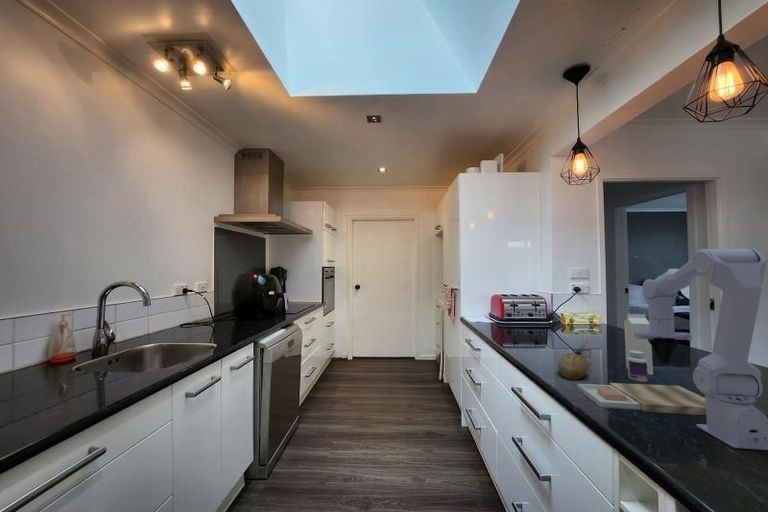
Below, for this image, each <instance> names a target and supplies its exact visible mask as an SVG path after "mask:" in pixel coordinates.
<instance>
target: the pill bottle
mask: <svg viewBox="0 0 768 512" xmlns="http://www.w3.org/2000/svg"><path fill="white" fill-rule="evenodd" d="M629 354H630V357H628V358H627V364H628V369H627V376H628V379H630V380H631V381H635V382H640V383H641V382H642V383H644V382H648V380H649V375H648V372H647V361H646V359H644V358H643V357H644V353H643V352H640V351H629Z"/></svg>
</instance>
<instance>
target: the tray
mask: <svg viewBox="0 0 768 512" xmlns="http://www.w3.org/2000/svg"><path fill="white" fill-rule="evenodd" d="M576 385H577V386H576V388H577V390H578V391H579V392H581V393H582V394H583V395H584V396H586V397H587V398H588V399H589V400H591V401H592V402H593V403H594V404H596V405H597V406H598V407H600V408H602V409H616V410H618V409H619V410H632V411H633V410H637V411H639V410H641V409H640V404H639V403H638V402H636V401H634V400H633V399H631V398H630V397H628V396H627V395H625V394H623V393H622V392H620V391H619V390H617V389H616V388H614V387H612V386H611V385H610V384H592V383H590V384H589V383H588V384H587V383H577V384H576ZM597 388H604V389H616V390H617V391H619V392H620V393H622V394H623V395H625V401H614V400H606V399H605V398H603V397H602V396H600V395H599V394H598V391H597Z"/></svg>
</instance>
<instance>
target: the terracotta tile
mask: <svg viewBox="0 0 768 512" xmlns="http://www.w3.org/2000/svg"><path fill="white" fill-rule="evenodd" d="M597 391H598V394H599V395H600V396H602V397H603V398H605V399H606V400H614V401H625V395H623V394H622V393H620V392H619V391H617V390H616V389H604V388H597Z"/></svg>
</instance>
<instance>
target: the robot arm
mask: <svg viewBox="0 0 768 512" xmlns="http://www.w3.org/2000/svg"><path fill="white" fill-rule="evenodd" d="M767 262H768V260H767V259H766V258H765V257H764V256H763V255H762V254H761V253H760V252H759V251H758V250H757V249H756V248H753V247H742V248H710V249H709V248H700V249H698V250H697V251H695V252H693V253H692V254H691V257H690V260H689V261H688V262H687V263H685V264H684V265H683V266H681V267H680V268H668V269H667V270H666V272H664V273H663V274H661V275H659V276H657V278H655V279H651V278H646V280H644V282H643V283H642V292H643V295H644V296H645V298H647V307H648V310H647V311H648V322H649V328H650V331H645V332H634V338H636V339H648V341H649V343H650V344H651V346H652V350H654V352H655V355H656V358H657V360H658V362H659V363H660V364H662V365H669V364H670V361H671V358H672V354H673V353H674V352H675V349H676V348H677V347H678V345H679V341H678V340H680V341H681V340H682V341H692V340H693V339H692V338H693V337H692V333H689V332H675V331H676V330H675V314H674V305H675V304H676V298H677V295H678V292H679V291H681V290H684V289H685V288H687V287H689V286H690V285H691V283H692V280H693V279H696V278H698V277H702V278H703V279H704V280H705V281H707V282H708V283H709V284H710V285H711V286H714V287H716V288H719V290H721V292H722V294H721V301H720V305H719V306H720V307H719V312H718V317H717V324H716V330H715V335H714V341H713V346H712V351H711V353H710V354H708V355H706V356H704V357H702V358H700V359H699V360H698V363H697V366H696V367H695V368H694V370H693V371H692V372H693V373H692V380H693V383H694V385H695V386H696V388H697V389H698V390H699V391H700V393H702V394H704V398H705V404H706V415H705V417H706V424H702V423H700V424H698V423H696V427H697V428H699V429H700V430H702V431H704V432H705V433H708V434H709V435H711V436H713V437H714V438H716V439H718V440H720V441H721V442H723V443H725V444H726V445H728V446H730V447H731V448H735V449H746V450H748V449H750V450H761V451H768V417H767V415H766V414H764V412H762V411H761V410H759V409H758V408H756V407H755V406H754V405H753V403H756V399H758V398H760V397H761V396H762V394H763V389H764V387H763V383H762V380H761V379H762V371H760V369H758V368H757V367H756V366H755V365H754V364H752V363H751V362H749V361H748V360H749V356H750V350H751V345H752V340H753V337H754V336H753V335H754V330H755V325H756V321H757V316H758V311H759V304H760V300H761V296H762V286H763V284H764V283H763V282H764V277H765V274H766V273H765V271H766V267H767ZM676 340H677V341H676Z"/></svg>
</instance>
